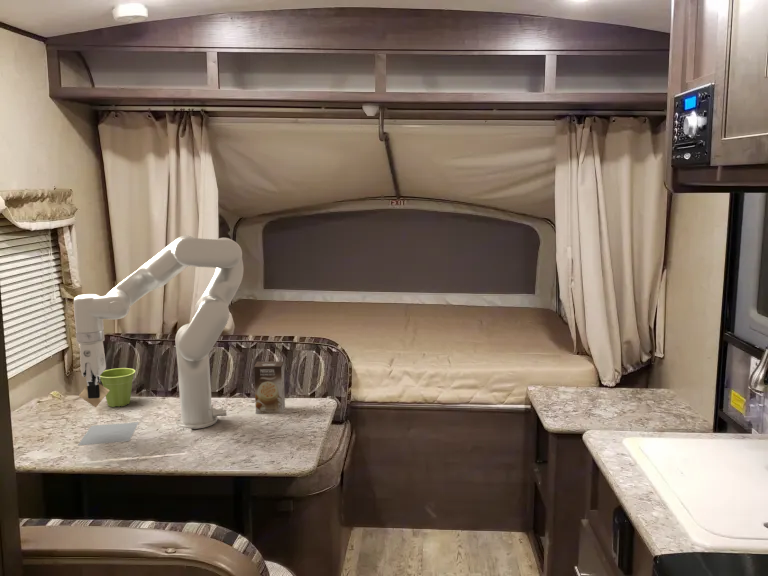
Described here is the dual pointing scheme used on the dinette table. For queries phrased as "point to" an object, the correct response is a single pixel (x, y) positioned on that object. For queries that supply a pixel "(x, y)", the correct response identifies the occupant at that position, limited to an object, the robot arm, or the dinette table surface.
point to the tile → (94, 400)
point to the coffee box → (269, 387)
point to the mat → (109, 433)
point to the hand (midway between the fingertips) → (94, 396)
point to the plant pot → (118, 385)
